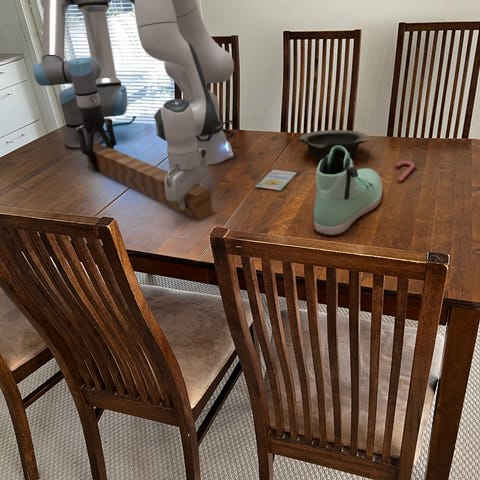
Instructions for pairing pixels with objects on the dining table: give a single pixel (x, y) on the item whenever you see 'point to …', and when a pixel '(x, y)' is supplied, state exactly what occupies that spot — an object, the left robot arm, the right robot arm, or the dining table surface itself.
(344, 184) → the sneaker
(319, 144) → the stone bowl
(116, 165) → the beam
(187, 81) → the right robot arm
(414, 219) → the dining table surface
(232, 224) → the dining table surface
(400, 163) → the candy cane
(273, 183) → the baking ingredient package
